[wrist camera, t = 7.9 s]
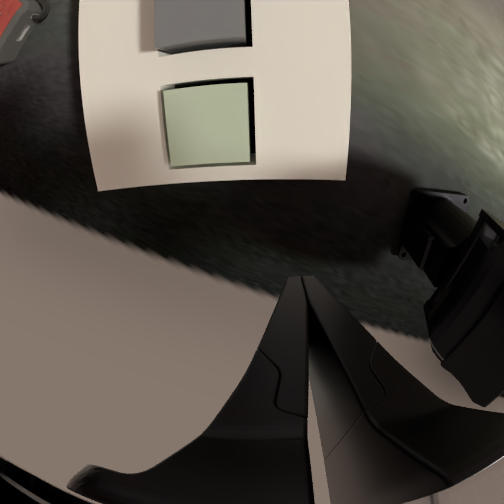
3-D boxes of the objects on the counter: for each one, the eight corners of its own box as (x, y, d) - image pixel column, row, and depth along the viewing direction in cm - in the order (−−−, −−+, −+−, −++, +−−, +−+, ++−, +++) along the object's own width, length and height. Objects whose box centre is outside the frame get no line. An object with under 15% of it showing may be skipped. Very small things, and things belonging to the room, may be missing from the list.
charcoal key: (244, -14, 11) (242, -34, 8) (246, 46, 13) (244, 36, 10) (172, -5, 11) (154, -21, 8) (173, 53, 13) (154, 47, 10)
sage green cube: (248, 83, 15) (246, 82, 13) (250, 148, 18) (249, 162, 15) (179, 89, 16) (163, 90, 13) (185, 152, 18) (171, 166, 15)
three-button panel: (323, -81, 7) (332, -99, 4) (333, 166, 18) (345, 180, 16) (107, -57, 7) (89, -68, 5) (116, 176, 19) (98, 191, 16)
